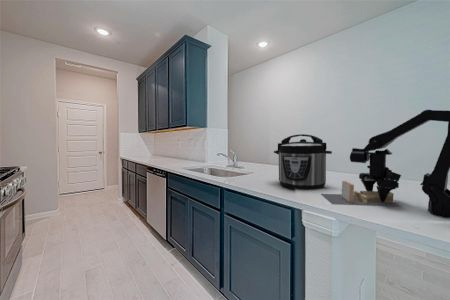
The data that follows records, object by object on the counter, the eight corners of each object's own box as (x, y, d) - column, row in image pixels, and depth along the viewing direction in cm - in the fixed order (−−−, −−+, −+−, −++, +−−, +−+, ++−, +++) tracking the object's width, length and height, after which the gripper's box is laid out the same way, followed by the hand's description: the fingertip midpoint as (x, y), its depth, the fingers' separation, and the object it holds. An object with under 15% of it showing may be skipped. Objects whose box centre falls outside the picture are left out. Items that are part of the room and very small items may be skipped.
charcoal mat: (402, 209, 81) (402, 206, 81) (332, 206, 85) (332, 204, 85) (378, 197, 97) (378, 195, 97) (320, 195, 101) (320, 193, 101)
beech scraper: (398, 204, 84) (398, 195, 83) (364, 203, 86) (364, 194, 85) (384, 198, 92) (384, 189, 92) (353, 197, 94) (354, 189, 94)
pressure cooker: (266, 183, 129) (266, 134, 127) (298, 178, 142) (298, 134, 140) (303, 195, 102) (304, 133, 100) (338, 188, 115) (339, 133, 113)
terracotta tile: (353, 202, 87) (353, 184, 86) (349, 202, 87) (349, 184, 86) (345, 197, 95) (345, 180, 94) (341, 197, 95) (341, 180, 94)
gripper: (414, 167, 77) (412, 206, 78) (383, 161, 96) (382, 193, 97) (383, 167, 79) (381, 205, 80) (358, 161, 98) (358, 192, 98)
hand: (376, 198), depth 89 cm, fingers open, 9 cm apart
